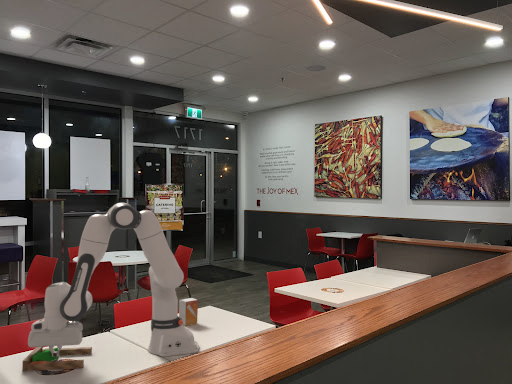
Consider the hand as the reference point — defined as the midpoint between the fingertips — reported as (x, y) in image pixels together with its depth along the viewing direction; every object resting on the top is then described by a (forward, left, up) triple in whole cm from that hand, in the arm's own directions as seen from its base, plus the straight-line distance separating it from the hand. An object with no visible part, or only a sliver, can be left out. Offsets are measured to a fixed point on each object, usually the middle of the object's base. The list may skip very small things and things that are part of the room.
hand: (55, 356), depth 170 cm
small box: (-54, -47, -2) cm, 72 cm away
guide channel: (-2, 0, -2) cm, 3 cm away
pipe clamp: (+4, 0, -2) cm, 5 cm away
